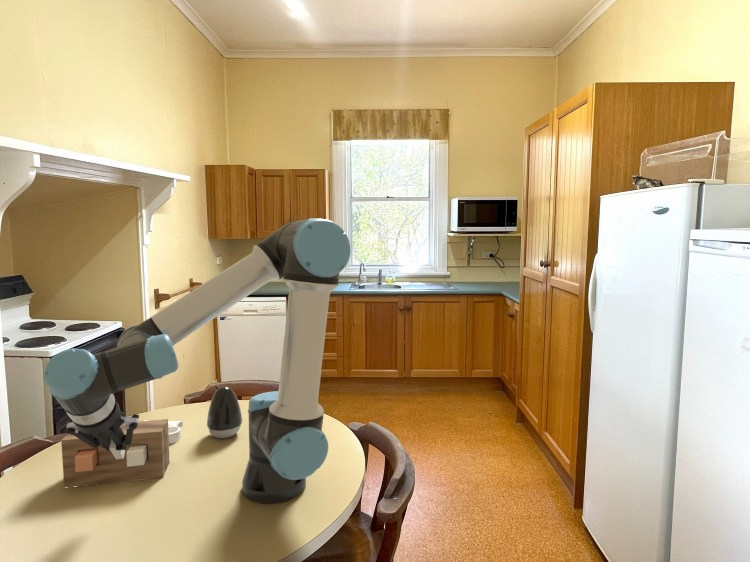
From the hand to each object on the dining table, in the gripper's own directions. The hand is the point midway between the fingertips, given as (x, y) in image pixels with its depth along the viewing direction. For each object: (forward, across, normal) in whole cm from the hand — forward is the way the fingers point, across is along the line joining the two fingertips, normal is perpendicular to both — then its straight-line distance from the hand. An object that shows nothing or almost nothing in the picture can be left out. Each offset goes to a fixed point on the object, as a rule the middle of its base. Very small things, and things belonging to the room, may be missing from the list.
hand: (121, 452), depth 102 cm
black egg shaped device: (+31, +20, +15) cm, 40 cm away
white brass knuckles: (+34, -1, +17) cm, 38 cm away
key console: (+19, -4, +2) cm, 19 cm away
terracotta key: (+12, -10, +2) cm, 15 cm away
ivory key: (+12, +1, +2) cm, 12 cm away
